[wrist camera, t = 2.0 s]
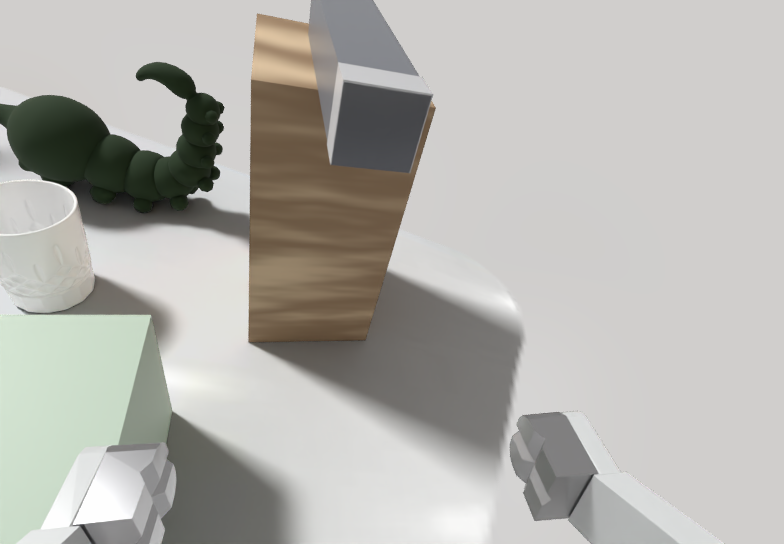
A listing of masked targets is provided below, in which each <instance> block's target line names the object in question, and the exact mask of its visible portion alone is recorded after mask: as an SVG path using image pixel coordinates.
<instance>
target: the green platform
mask: <svg viewBox="0 0 784 544" xmlns="http://www.w3.org/2000/svg"><path fill="white" fill-rule="evenodd" d="M171 415H172V407H171V403H170V398H169V394H168V389H167V384H166V380H165V375H164V371H163V366H162V362H161V357H160V353H159V348H158V343H157V339H156V334H155V330H154V325H153V321H152V316H151V315H0V544H16V543H17V542H19V541H20V540H21V539H22V538H23V537H24V536H25V535H27V534H28V533H29V532H30V531H31V530H37V529H40V528H41V526H42V524H43V522H44V520H45V518H46V516H47V514H48V513H49V511H50V509H51V507H52V505H53V503H54V501H55V499H56V497H57V495H58V493H59V491H60V489H61V487H62V485H63V483H64V481H65V479H66V477H67V475H68V473H69V471H70V470H71V468H72V466H73V464H74V462H75V460H76V458H77V456H78V455H79V454H80V453H81V451H82V450H83V449H84V448H85V447H93V446H106V445H126V444H143V443H159V442H165V443H166V444H167V438H168V432H169V427H170V421H171Z"/></svg>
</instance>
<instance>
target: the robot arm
mask: <svg viewBox="0 0 784 544" xmlns="http://www.w3.org/2000/svg"><path fill="white" fill-rule="evenodd" d="M517 427H518V429H519V431H518V432H517V433H516V434H514V435H513V436H512V439H511V442H510V457H511V462H512V465H513V468H514V470H515V473H516V475H517V476H518V477H519V478H520V479H521V480H522V481H524V482H525V483H526V484H525V488H524V492H523V494H524V496H525V499H526V501H527V503H528V506H529V508H530V511H531V514H532V516H533V518H534V520H535V521H539V520H551V519H562V518H569V519H568V520H569V522H570V523H571V524H572V525H573V526H574V527H575V528H576V529H577V530H578V531H579V532H580V533H581V534H582V535H583V536H584V537H585V538H586V539H587V540H588V541H589V542H590V543H591V544H725V543H723V542H722V541H720V540H719V539H718V538H716V537H715V536H714V535H712V534H711V533H710V532H708V531H707V530H705V529H704V528H703V527H701V526H700V525H699V524H697V523H696V522H695V521H693V520H692V519H690V518H689V517H688V516H686V515H685V514H684V513H682V512H681V511H680V510H678V509H677V508H675V507H674V506H673V505H671V504H670V503H669V502H667V501H666V500H664V499H663V498H662V497H661V496H659V495H658V494H656V493H655V492H654V491H652V490H651V489H649V488H648V487H647V486H645V485H644V484H643V483H641V482H640V481H639V480H637V479H636V478H635V477H633V476H632V475H631V474H629V473H628V472H621V471H620V470H619V468H618V466H617V465H616V463H615V462H614V460H613V459H612V457H611V455H610V454H609V452H608V450H607V449H606V447H605V445H604V444H603V443H602V441H601V439H600V437H599V436H598V434H597V433H596V431H595V430H594V428H593V426H592V425H591V423H590V421H589V420H588V418H587V416H586V415H585V414H584V413H582V412H581V411H572V412H562V413H560V412H553V413H543V414H531V415H523V416H521V417H520V418H519V420H518V422H517ZM168 453H169V450H168V448H167V445H166V443H165V442H159V443H143V444H126V445H106V446H93V447H85V448H84V449H83V450H82V451H81V453H80V454H79V455H78V456H77V458H76V460H75V462H74V464H73V466H72V468H71V470H70V471H69V473H68V475H67V477H66V479H65V481H64V483H63V485H62V487H61V489H60V491H59V493H58V495H57V497H56V499H55V501H54V503H53V505H52V507H51V509H50V511H49V513H48V514H47V516H46V518H45V520H44V522H43V524H42V526H41V528H40V529H37V530H31V531H30V532H29V533H28V534H27V535H25V536H24V537H23V538H22V539H21V540H20V541H19V542H17V543H16V544H161V543H162V539H163V536H164V532H165V528H164V526H163V523H162V521H161V518H162V517H163V516H164V515H165V514H166V513H167V512H168V511H169V510H170V509H171V507H172V504H173V500H174V496H175V489H176V470H175V467H174V464H173V463H172V462H170V461H168V460H167V456H168Z"/></svg>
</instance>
